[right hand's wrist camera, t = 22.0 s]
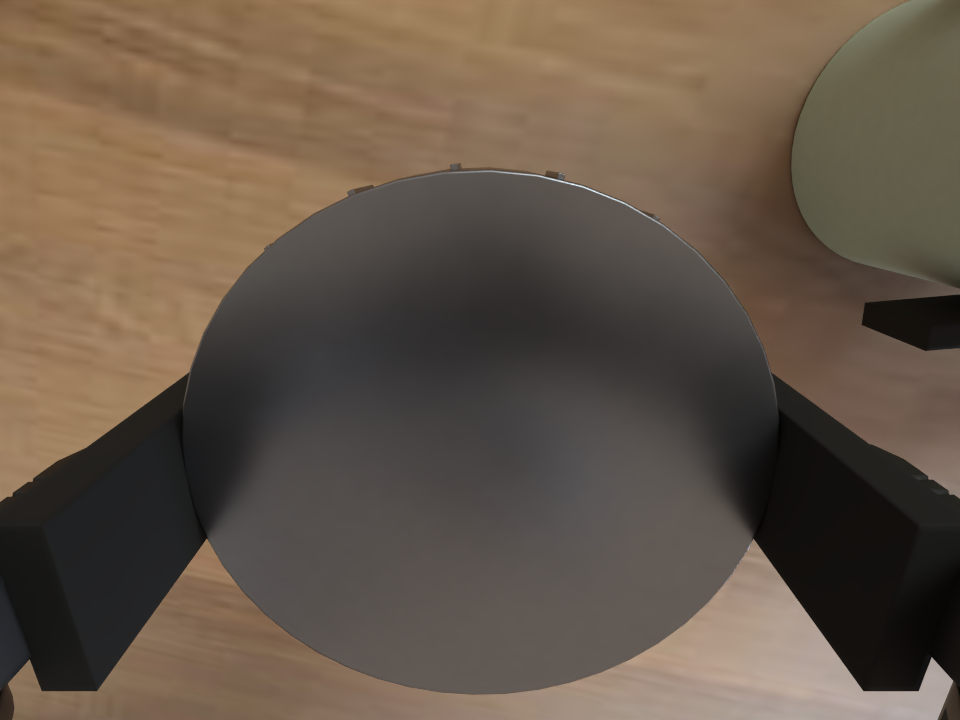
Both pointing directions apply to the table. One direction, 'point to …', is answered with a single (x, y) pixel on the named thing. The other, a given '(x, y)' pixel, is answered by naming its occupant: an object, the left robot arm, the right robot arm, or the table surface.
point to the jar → (887, 145)
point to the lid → (480, 431)
